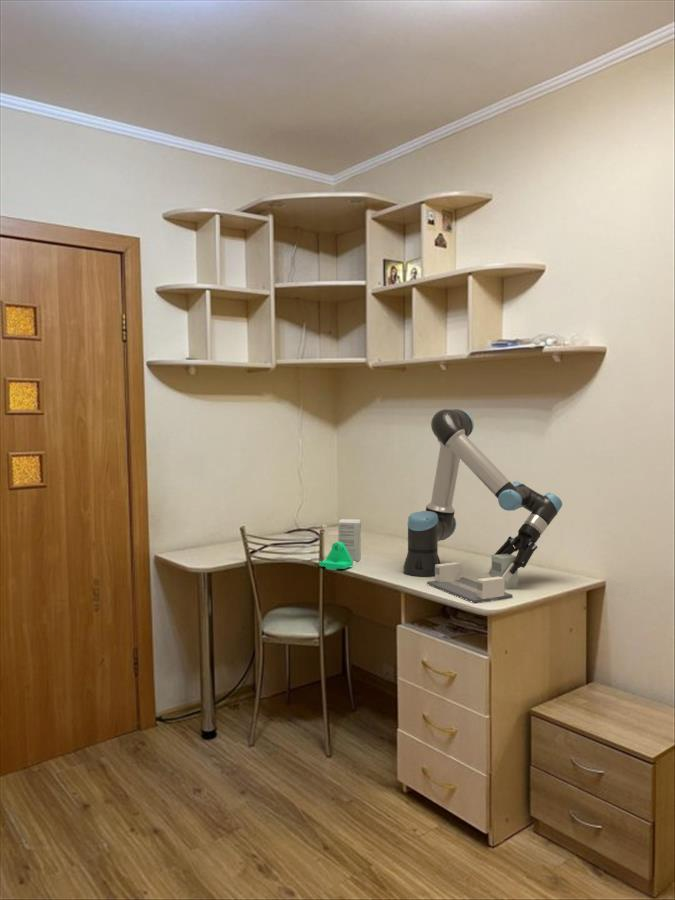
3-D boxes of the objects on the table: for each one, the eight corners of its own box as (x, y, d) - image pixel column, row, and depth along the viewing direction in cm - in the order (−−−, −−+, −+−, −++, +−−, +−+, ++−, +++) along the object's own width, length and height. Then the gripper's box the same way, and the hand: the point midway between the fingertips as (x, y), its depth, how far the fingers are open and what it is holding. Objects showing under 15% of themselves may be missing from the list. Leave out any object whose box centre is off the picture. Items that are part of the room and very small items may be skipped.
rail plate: (427, 584, 251) (427, 565, 250) (463, 579, 258) (463, 561, 257) (474, 603, 225) (474, 582, 225) (512, 597, 232) (512, 577, 232)
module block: (490, 585, 249) (490, 555, 249) (506, 583, 253) (506, 553, 252) (501, 589, 244) (501, 558, 243) (517, 586, 247) (517, 556, 247)
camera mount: (318, 568, 278) (318, 543, 277) (327, 564, 285) (327, 540, 284) (343, 571, 272) (343, 546, 271) (353, 568, 279) (353, 542, 278)
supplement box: (339, 557, 299) (339, 518, 298) (360, 557, 298) (361, 519, 297) (338, 561, 289) (338, 522, 289) (359, 562, 289) (359, 522, 288)
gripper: (557, 540, 245) (521, 590, 239) (519, 531, 263) (484, 577, 257) (546, 526, 242) (509, 576, 236) (508, 518, 261) (473, 564, 255)
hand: (496, 577), depth 247 cm, fingers open, 8 cm apart
